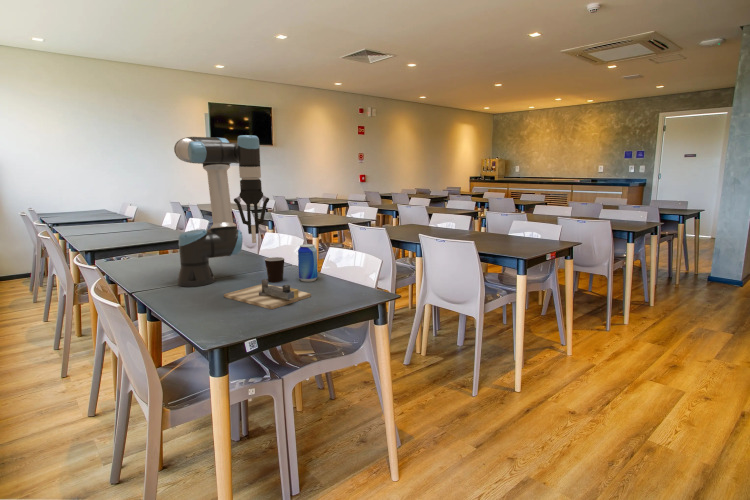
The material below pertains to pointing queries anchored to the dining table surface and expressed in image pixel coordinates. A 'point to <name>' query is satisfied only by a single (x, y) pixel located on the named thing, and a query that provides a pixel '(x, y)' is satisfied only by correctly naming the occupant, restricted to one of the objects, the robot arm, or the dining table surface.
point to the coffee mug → (275, 269)
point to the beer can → (307, 262)
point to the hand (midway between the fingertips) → (254, 242)
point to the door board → (264, 296)
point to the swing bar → (280, 291)
